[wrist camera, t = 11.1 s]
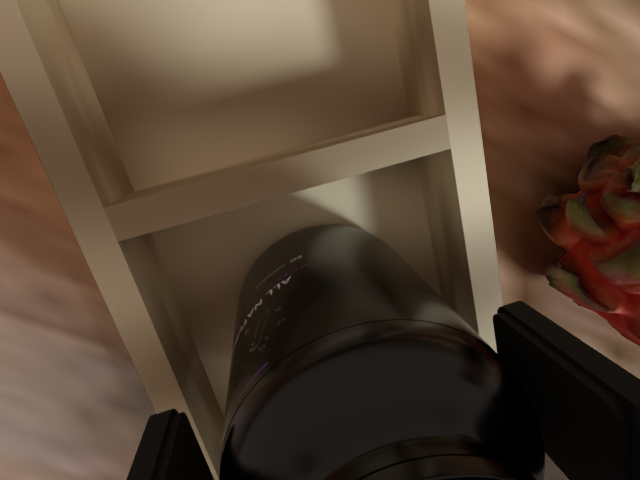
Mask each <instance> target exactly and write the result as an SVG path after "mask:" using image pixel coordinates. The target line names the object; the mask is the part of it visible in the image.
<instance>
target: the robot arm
mask: <svg viewBox="0 0 640 480" xmlns="http://www.w3.org/2000/svg"><path fill="white" fill-rule="evenodd" d="M493 326H494V333H495V340H496V347H497V354H498V355H499V356H500V357H501V358H502V359H503V360H504V361H505V362H506V364H507V365H508V366H509V367H510V368H511V369H512V371H513V372H514V373H515V374H516V376H517V377H518V378H519V379H520V381H521V382H522V383H523V385H524V387H525V389H526V390H527V392H528V394H529V395H530V397H531V400H532V402H533V404H534V406H535V409H536V412H537V415H538V418H539V422H540V425H541V429H542V435H543V441H544V449H545V452H546V454H547V455H548V456H549V457H550V458H551V459H552V460H553V462H554V463H555V464H556V465H557V466H558V467H559V468H560V469H561V471H562V472H563V473H564V474H565V475H566V476H567V477H568V479H569V480H640V379H638V378H637V377H635V376H634V375H632V374H631V373H629V372H628V371H626V370H625V369H623V368H622V367H620V366H619V365H617V364H616V363H614V362H613V361H611V360H610V359H608V358H607V357H605V356H604V355H602V354H601V353H599V352H598V351H596V350H595V349H593V348H592V347H590V346H589V345H587V344H586V343H584V342H583V341H581V340H580V339H578V338H577V337H575V336H574V335H572V334H571V333H569V332H568V331H566V330H565V329H563V328H562V327H560V326H559V325H557V324H556V323H554V322H553V321H551V320H550V319H548V318H547V317H545V316H544V315H542V314H541V313H539V312H538V311H536V310H535V309H533V308H532V307H530V306H529V305H527V304H526V303H524V302H522V301H517V302H514V303H511V304H508V305H504V306H501V307H499V308H498V310H497V314H495V315H493ZM127 480H214V478H213V475H212V473H211V471H210V468H209V466H208V464H207V461H206V459H205V457H204V454H203V452H202V450H201V447H200V445H199V443H198V440H197V438H196V436H195V433H194V431H193V429H192V426H191V424H190V422H189V419H188V417H187V415H186V414H185V412H181V413H178V411H177V410H176V409H170V410H167V411H164V412H161V413H158V414H154V415H152V416H150V418H149V419H148V422H147V425H146V428H145V431H144V433H143V436H142V439H141V442H140V444H139V447H138V450H137V453H136V455H135V458H134V461H133V464H132V466H131V469H130V472H129V475H128V477H127Z"/></svg>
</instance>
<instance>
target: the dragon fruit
mask: <svg viewBox="0 0 640 480" xmlns="http://www.w3.org/2000/svg"><path fill="white" fill-rule="evenodd" d="M578 185H579V187H580V191H579V192H578V193H577V194H566V195H560V196H556V195H554V194H553V193H546V195H545V198H544V199H543V200H542V201H541V203H540V205H539V208H538V209H537V210H536V211H535V215H536V217H537V219H538V221H539V224H540V226H541V227H542V229H543V231H544V232H545V234H546V235H547V236H548V238H549V239H550V240H551V241H552V242H553V243H555V244H556V245H558V246H560V247H563V248H564V249H566V250H567V252H566V254H565V255H564V256H563V257H562V258H561V259H560V260H559V261H557V260H555V259H551V261H550V263H549V266H548V268H547V270H546V272H545V276H546V278H547V280H548V281H549V285H550V286H552V287H553V288H555V289H556V290H558V291H560V292H561V293H563V294H564V295H566V296H567V297H569V298H571V299H573V301H574V302H575V303H577V304H578V305H579V306H583V307H586V308H588V309H590V310H593V311H595V312H596V313H598V314H599V315H600V316H602V317H603V318H604V319H606V320H607V321H608V322H609V324H610V325H611V326H612V327H613V328H615V329H616V330H617V331H618V332H620V334H621V335H622V336H624V337H625V338H627V339H628V340H630V341H632V342H634V343H635V344H637V345H639V346H640V138H627V137H620V136H617V135H612V136H609V137H606V138H604V139H602V140H600V141H598V142H596V143H593V144H592V145H591V146H590V148H589V152H588V155H587V158H586V160H585V163H584V165H583V167H582V169H581V171H580V173H579V176H578Z"/></svg>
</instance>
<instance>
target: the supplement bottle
mask: <svg viewBox="0 0 640 480" xmlns="http://www.w3.org/2000/svg"><path fill="white" fill-rule="evenodd" d="M544 473H545V449H544V441H543V435H542V429H541V425H540V422H539V418H538V415H537V412H536V409H535V406H534V404H533V402H532V400H531V397H530V395H529V394H528V392H527V390H526V389H525V387H524V385H523V383H522V382H521V381H520V379H519V378H518V377H517V376H516V374H515V373H514V372H513V371H512V369H511V368H510V367H509V366H508V365H507V364H506V362H505V361H504V360H503V359H502V358H501V357H500V356H499V355H498V354H497V353H496V352H495V351H494V350H493V349H492V348H491V347H490V346H489V345H488V344H487V343H486V342H485V341H484V340H483V339H482V338H481V337H480V336H479V335H478V334H477V333H476V332H475V331H474V330H473V329H472V328H471V327H470V326H469V325H468V324H467V323H466V322H465V321H464V320H463V319H462V318H461V317H460V316H459V315H458V314H457V313H456V312H455V311H454V310H453V309H452V308H451V307H450V306H449V305H448V304H447V303H446V302H445V301H444V300H443V299H442V298H441V297H440V296H439V295H438V293H437V292H436V291H435V290H434V289H433V288H432V287H431V286H430V285H429V284H428V283H427V282H426V281H425V280H424V279H423V278H422V277H421V276H420V275H419V274H418V273H417V272H416V271H415V270H414V269H413V268H412V267H411V266H410V265H409V264H408V263H407V262H406V261H405V260H404V259H403V258H402V257H401V256H400V255H399V254H398V253H396V252H395V251H394V250H393V249H392V248H391V247H390V246H389V245H387V244H386V243H385V242H384V241H382V240H381V239H379V238H378V237H376V236H374V235H373V234H371V233H369V232H367V231H364V230H361V229H359V228H355V227H351V226H346V225H336V224H326V225H316V226H311V227H307V228H303V229H300V230H297V231H295V232H293V233H290V234H288V235H286V236H285V237H283V238H281V239H279V240H278V241H276V242H275V243H274V244H272V245H271V246H270V247H269V248H267V249H266V250H265V251H264V252H263V253H262V254H261V255H260V256H259V258H258V259H257V260H256V261H255V263H254V264H253V265H252V267H251V269H250V270H249V272H248V274H247V276H246V278H245V280H244V283H243V285H242V288H241V292H240V295H239V301H238V307H237V313H236V321H235V330H234V339H233V348H232V357H231V365H230V374H229V383H228V392H227V401H226V410H225V419H224V428H223V437H222V446H221V455H220V474H219V480H544Z"/></svg>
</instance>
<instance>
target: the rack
mask: <svg viewBox="0 0 640 480" xmlns="http://www.w3.org/2000/svg"><path fill="white" fill-rule="evenodd" d="M0 73H1V75H2V77H3V79H4V82H5V84H6V86H7V88H8V90H9V93H10V95H11V97H12V99H13V101H14V104H15V106H16V108H17V110H18V112H19V114H20V117H21V119H22V121H23V123H24V125H25V128H26V130H27V132H28V134H29V136H30V139H31V141H32V143H33V145H34V147H35V150H36V152H37V154H38V156H39V158H40V160H41V163H42V165H43V167H44V169H45V171H46V174H47V176H48V178H49V180H50V182H51V185H52V187H53V189H54V191H55V193H56V196H57V198H58V200H59V202H60V204H61V206H62V209H63V211H64V213H65V215H66V217H67V220H68V222H69V224H70V226H71V228H72V231H73V233H74V235H75V237H76V239H77V242H78V244H79V246H80V248H81V250H82V252H83V255H84V257H85V259H86V261H87V263H88V266H89V268H90V270H91V272H92V274H93V277H94V279H95V281H96V283H97V285H98V288H99V290H100V292H101V294H102V296H103V298H104V301H105V303H106V305H107V307H108V309H109V312H110V314H111V316H112V318H113V320H114V323H115V325H116V327H117V329H118V331H119V334H120V336H121V338H122V340H123V342H124V344H125V347H126V349H127V351H128V353H129V355H130V358H131V360H132V362H133V364H134V366H135V369H136V371H137V373H138V375H139V377H140V380H141V382H142V384H143V386H144V388H145V391H146V393H147V395H148V397H149V399H150V401H151V404H152V406H153V408H154V410H155V412H156V414H158V413H161V412H164V411H167V410H170V409H176V410H177V411H178V413H181V412H185V414H186V415H187V417H188V419H189V422H190V424H191V426H192V429H193V431H194V433H195V436H196V438H197V440H198V443H199V445H200V447H201V450H202V452H203V454H204V457H205V459H206V461H207V464H208V466H209V468H210V471H211V473H212V475H213V478H214V480H219V474H220V455H221V446H222V437H223V428H224V419H225V410H226V401H227V392H228V383H229V374H230V365H231V357H232V348H233V339H234V330H235V321H236V313H237V307H238V301H239V295H240V292H241V288H242V285H243V283H244V280H245V278H246V276H247V274H248V272H249V270H250V269H251V267H252V265H253V264H254V263H255V261H256V260H257V259H258V258H259V256H260V255H261V254H262V253H263V252H264V251H265V250H266V249H267V248H269V247H270V246H271V245H272V244H274V243H275V242H276V241H278V240H279V239H281V238H283V237H285V236H286V235H288V234H290V233H293V232H295V231H297V230H300V229H303V228H307V227H311V226H316V225H326V224H336V225H346V226H351V227H355V228H359V229H361V230H364V231H367V232H369V233H371V234H373V235H374V236H376V237H378V238H379V239H381V240H382V241H384V242H385V243H386V244H387V245H389V246H390V247H391V248H392V249H393V250H394V251H395V252H396V253H398V254H399V255H400V256H401V257H402V258H403V259H404V260H405V261H406V262H407V263H408V264H409V265H410V266H411V267H412V268H413V269H414V270H415V271H416V272H417V273H418V274H419V275H420V276H421V277H422V278H423V279H424V280H425V281H426V282H427V283H428V284H429V285H430V286H431V287H432V288H433V289H434V290H435V291H436V292H437V293H438V295H439V296H440V297H441V298H442V299H443V300H444V301H445V302H446V303H447V304H448V305H449V306H450V307H451V308H452V309H453V310H454V311H455V312H456V313H457V314H458V315H459V316H460V317H461V318H462V319H463V320H464V321H465V322H466V323H467V324H468V325H469V326H470V327H471V328H472V329H473V330H474V331H475V332H476V333H477V334H478V335H479V336H480V337H481V338H482V339H483V340H484V341H485V342H486V343H487V344H488V345H489V346H490V347H491V348H492V349H493V350H494V351H495V352H496V353H497V347H496V340H495V333H494V326H493V315H495V314H497V310H498V308H499V307H501V306H503V299H502V291H501V283H500V275H499V267H498V260H497V252H496V244H495V236H494V228H493V221H492V213H491V205H490V197H489V189H488V181H487V174H486V166H485V158H484V150H483V142H482V134H481V127H480V119H479V111H478V103H477V95H476V87H475V80H474V72H473V64H472V56H471V48H470V40H469V33H468V25H467V17H466V9H465V1H464V0H0Z"/></svg>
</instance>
